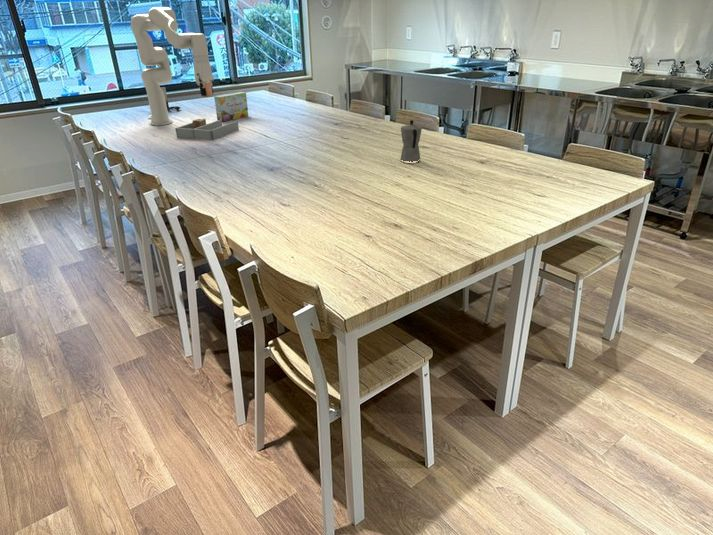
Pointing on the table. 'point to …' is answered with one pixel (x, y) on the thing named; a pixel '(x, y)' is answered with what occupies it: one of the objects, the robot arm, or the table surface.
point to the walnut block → (198, 123)
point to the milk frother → (167, 101)
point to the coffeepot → (410, 142)
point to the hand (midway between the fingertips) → (207, 94)
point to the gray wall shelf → (206, 130)
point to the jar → (208, 89)
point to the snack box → (231, 106)
